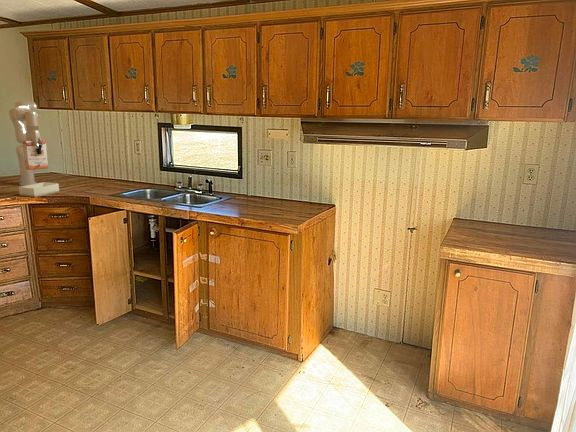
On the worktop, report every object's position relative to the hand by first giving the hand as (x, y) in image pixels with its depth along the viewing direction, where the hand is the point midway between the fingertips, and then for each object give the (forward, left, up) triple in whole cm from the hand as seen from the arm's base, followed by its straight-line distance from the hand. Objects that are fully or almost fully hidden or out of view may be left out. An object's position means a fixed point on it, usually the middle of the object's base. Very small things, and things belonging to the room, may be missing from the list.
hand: (35, 153), depth 312 cm
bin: (0, 0, -29) cm, 29 cm away
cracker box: (0, 0, -11) cm, 11 cm away
